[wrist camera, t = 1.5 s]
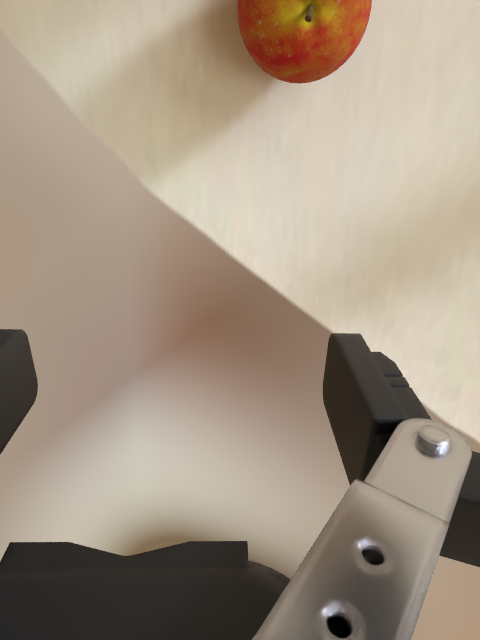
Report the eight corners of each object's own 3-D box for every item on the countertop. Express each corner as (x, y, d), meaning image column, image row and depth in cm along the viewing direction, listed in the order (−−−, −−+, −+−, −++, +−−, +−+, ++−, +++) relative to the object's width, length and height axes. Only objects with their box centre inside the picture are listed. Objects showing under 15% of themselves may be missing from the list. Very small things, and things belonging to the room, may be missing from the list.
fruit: (275, -101, 23) (282, -141, 16) (382, -27, 25) (426, -37, 18) (220, 39, 27) (208, 51, 20) (316, 95, 28) (333, 122, 22)
